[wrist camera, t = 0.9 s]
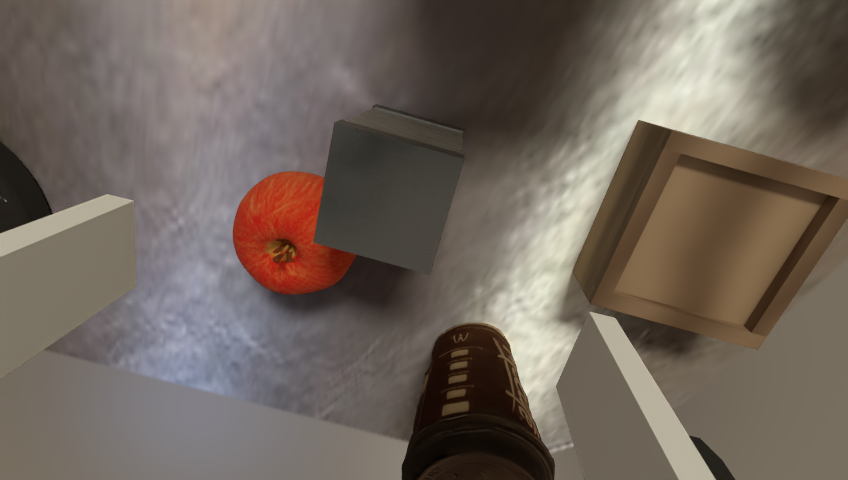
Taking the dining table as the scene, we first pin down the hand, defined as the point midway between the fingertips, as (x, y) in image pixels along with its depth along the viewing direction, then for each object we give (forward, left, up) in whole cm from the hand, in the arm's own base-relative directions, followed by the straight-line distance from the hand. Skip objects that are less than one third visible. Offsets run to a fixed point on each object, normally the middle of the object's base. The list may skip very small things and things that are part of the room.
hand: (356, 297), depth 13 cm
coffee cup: (+8, -14, -19) cm, 25 cm away
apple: (-6, -6, -19) cm, 21 cm away
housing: (-1, 0, -19) cm, 19 cm away
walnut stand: (+18, +1, -19) cm, 26 cm away
